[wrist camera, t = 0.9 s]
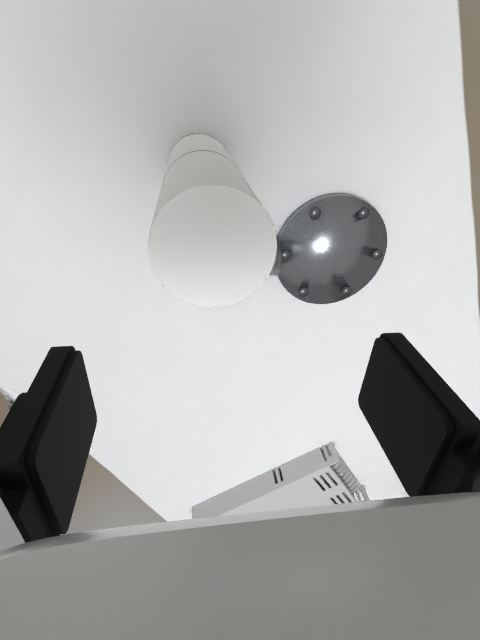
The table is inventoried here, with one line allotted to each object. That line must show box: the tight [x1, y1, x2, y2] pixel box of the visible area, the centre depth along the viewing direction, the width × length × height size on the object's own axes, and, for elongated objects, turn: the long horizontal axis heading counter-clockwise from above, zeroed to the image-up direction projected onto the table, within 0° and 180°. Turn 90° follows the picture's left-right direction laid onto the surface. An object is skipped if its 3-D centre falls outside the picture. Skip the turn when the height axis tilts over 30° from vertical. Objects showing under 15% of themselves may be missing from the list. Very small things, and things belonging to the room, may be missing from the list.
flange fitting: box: [269, 193, 387, 304], centre depth 46 cm, size 23×15×6 cm, turn 88°
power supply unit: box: [192, 442, 370, 519], centre depth 77 cm, size 19×33×5 cm, turn 120°
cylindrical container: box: [148, 134, 277, 307], centre depth 31 cm, size 7×7×25 cm
